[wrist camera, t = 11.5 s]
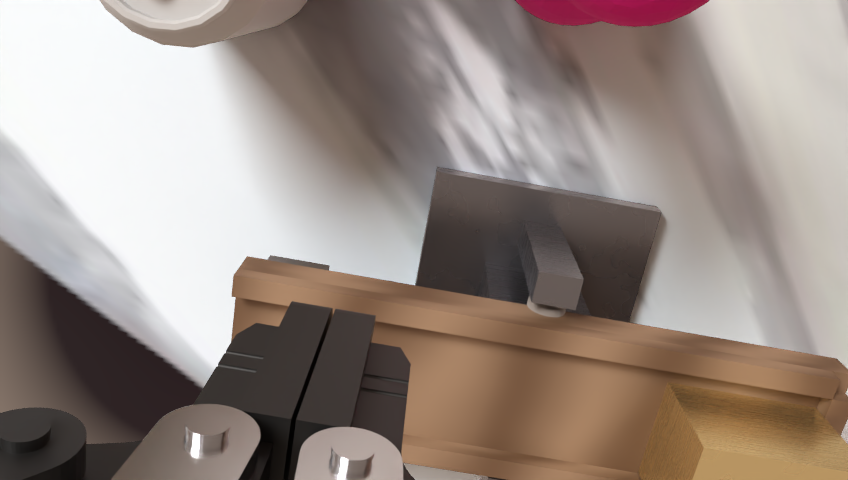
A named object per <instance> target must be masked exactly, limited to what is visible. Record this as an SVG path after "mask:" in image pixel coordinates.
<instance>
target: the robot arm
mask: <svg viewBox="0 0 848 480" xmlns="http://www.w3.org/2000/svg"><path fill="white" fill-rule="evenodd" d="M332 316H333V317H332ZM375 319H376V315H370V314H365V313H359V312H353V311H347V310H341V309H335V311H334V314H333V308H329V307H323V306H317V305H312V304H306V303H300V302H294V301H292V302H291V303H290V305H289V307H288V309H287V311H286V313H285V315H284V317H283V319H282V321H281V323H280V325H279V327H278V326H272V325H266V324H260V323H255V324H254V325H252V326H250V327H248V328H247V329H245V330H243V331H241V332H240V333H238V334H236V336H235V337H234V339H233V340H232V342H231V344H230V345H229V347H228V349H227V351H226V353H225V354H224V355H223V357H222V358H221V360H220V362H219V364H218V367H216V368H215V370H214V372H213V373H212V375H211V377H210V378H209V380H208V381H207V383H206V385H205V386H204V388H203V390H202V391H201V393H200V395H199V396H198V398H197V400H196V401H195V403H194V404H193V405H191V406H186V407H182V408H180V409H177V410H174V411H172V412H170V413H168V414H167V415H165V416H164V417H163V418H161V419H160V420H159V421H158V422H157V424H156V425H155V426H154V427H153V429H152V430H151V431H150V432H149V433H148V435H147V436H146V437H145V438H144V440H141V441H135V442H126V443H107V444H86V429H85V427H84V425H83V423H82V422H81V421H80V420H79V419H78V418H76V417H75V416H73V415H71V414H69V413H67V412H64V411H61V410H56V409H50V408H23V409H16V410H11V411H7V412H3V413H0V480H415V479H414V478H413V477H412V476H411V475H410V474H409V472H408V471H407V470H406V468H405V466H404V464H403V460H402V455H401V451H402V441H403V432H404V423H405V413H406V404H407V394H408V385H409V376H410V366H411V364H410V362H409V360H408V359H407V357H406V356H405V354H404V352H403V351H402V349H401V347H395V346H389V345H384V344H378V343H372V338H373V332H374V326H375Z"/></svg>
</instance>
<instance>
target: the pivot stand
mask: <svg viewBox="0 0 848 480" xmlns="http://www.w3.org/2000/svg"><path fill="white" fill-rule="evenodd" d="M660 215H661V211H660V210H659V209H658V208H657V207H656V206H650V205H645V204H639V203H634V202H628V201H623V200H617V199H612V198H606V197H601V196H595V195H589V194H584V193H578V192H573V191H567V190H562V189H556V188H551V187H545V186H540V185H534V184H529V183H523V182H518V181H512V180H507V179H501V178H496V177H490V176H485V175H479V174H474V173H468V172H462V171H457V170H451V169H446V168H440V167H437V171H436V176H435V182H434V187H433V192H432V198H431V203H430V208H429V214H428V219H427V224H426V230H425V235H424V240H423V246H422V251H421V256H420V262H419V267H418V272H417V278H416V283H415V286H420V287H426V288H432V289H438V290H443V291H449V292H455V293H461V294H466V295H472V296H478V297H484V298H489V299H495V300H501V301H507V302H513V303H518V304H524V305H527V301H528V297H529V296H530V299H531V302H532V303H537V304H543V305H549V306H554V307H560V308H566V311H565V312H570V313H576V314H582V315H587V316H593V317H599V318H605V319H611V320H616V321H622V322H629V319H630V316H631V312H632V309H633V306H634V302H635V299H636V296H637V292H638V289H639V286H640V282H641V279H642V275H643V272H644V269H645V265H646V262H647V259H648V255H649V252H650V249H651V245H652V242H653V239H654V235H655V232H656V229H657V225H658V222H659V219H660ZM480 479H481V480H506V479H500V478H494V477H488V476H482V475H480Z"/></svg>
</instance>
